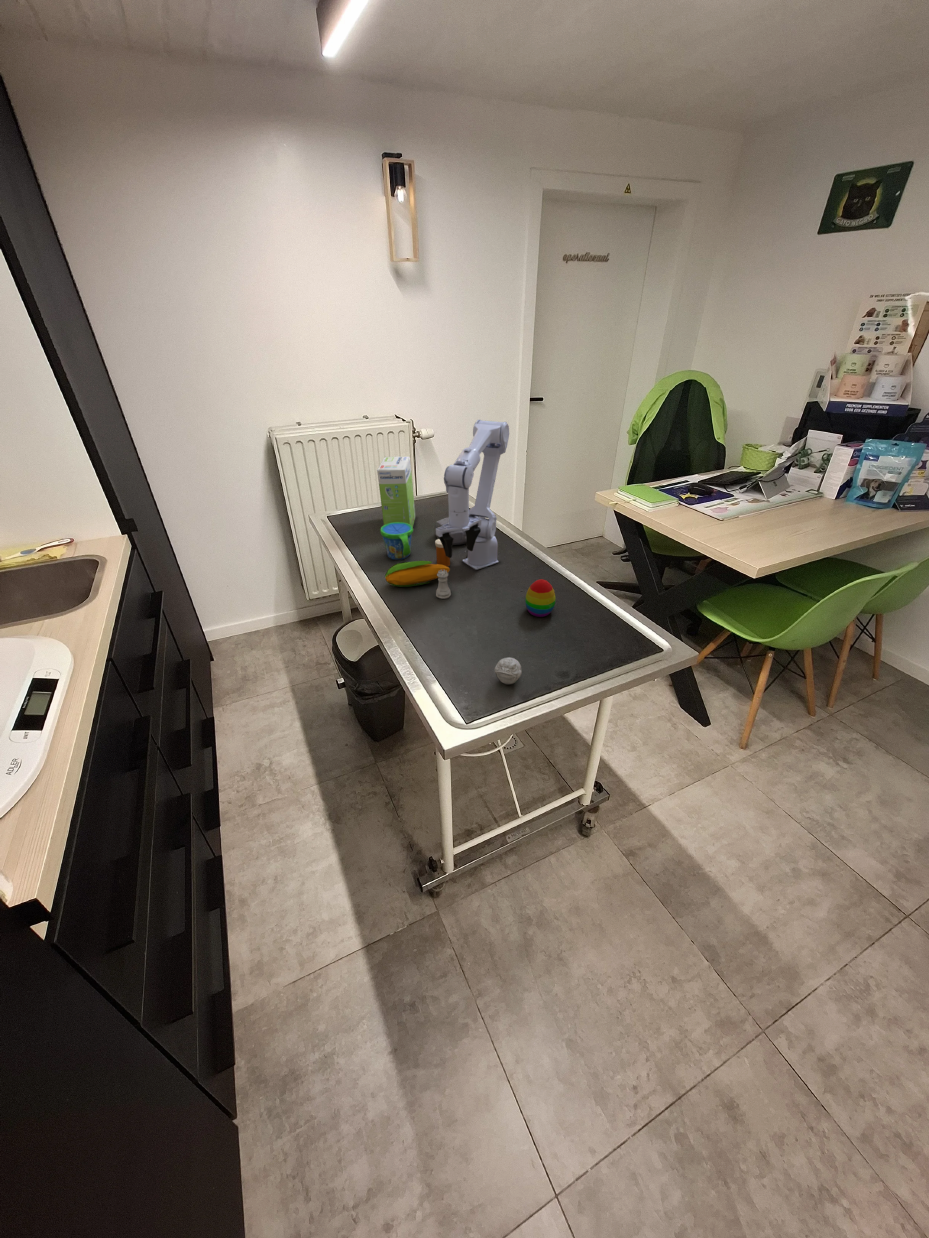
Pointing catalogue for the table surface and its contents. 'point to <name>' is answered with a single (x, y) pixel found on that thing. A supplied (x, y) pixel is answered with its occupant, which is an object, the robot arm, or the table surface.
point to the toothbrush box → (396, 490)
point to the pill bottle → (441, 554)
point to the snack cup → (397, 539)
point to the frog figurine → (508, 670)
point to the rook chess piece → (443, 585)
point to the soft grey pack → (458, 535)
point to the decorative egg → (540, 598)
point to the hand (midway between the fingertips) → (459, 553)
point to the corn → (413, 573)
